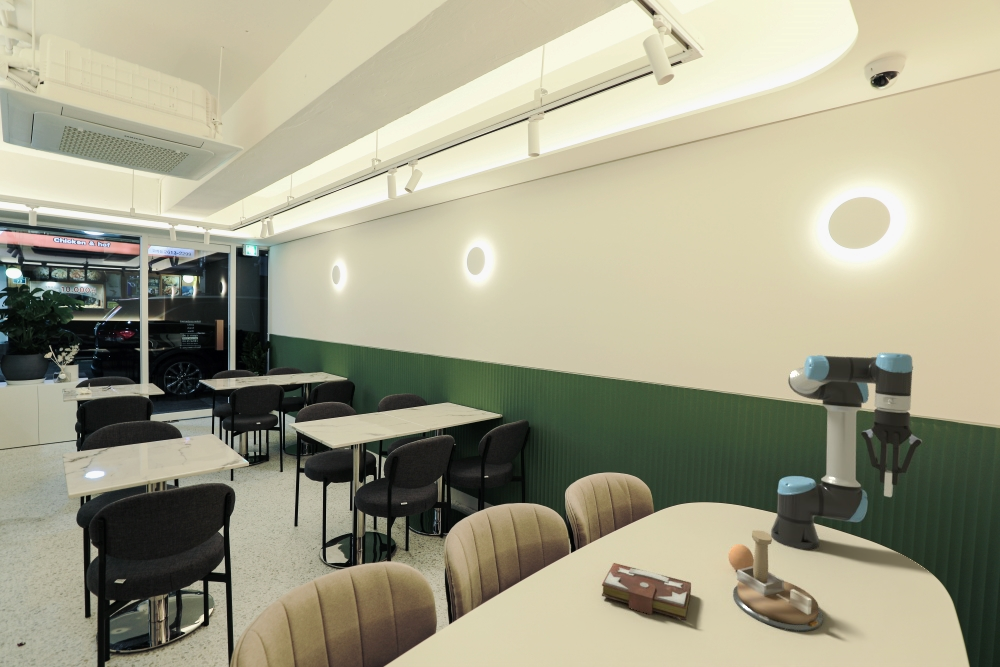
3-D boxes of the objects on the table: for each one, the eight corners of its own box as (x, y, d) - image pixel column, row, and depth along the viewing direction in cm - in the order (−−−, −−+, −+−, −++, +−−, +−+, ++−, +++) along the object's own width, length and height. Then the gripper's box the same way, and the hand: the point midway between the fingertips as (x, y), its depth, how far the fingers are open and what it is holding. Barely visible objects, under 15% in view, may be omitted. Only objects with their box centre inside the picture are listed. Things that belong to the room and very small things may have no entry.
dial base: (748, 576, 150) (748, 571, 150) (830, 607, 135) (831, 602, 135) (721, 604, 135) (721, 599, 135) (811, 643, 119) (811, 637, 119)
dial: (721, 590, 140) (722, 570, 140) (768, 577, 148) (769, 558, 148) (785, 631, 122) (786, 608, 122) (835, 614, 129) (836, 592, 129)
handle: (765, 580, 142) (767, 531, 142) (772, 592, 136) (774, 541, 135) (748, 578, 143) (749, 529, 143) (754, 589, 137) (756, 538, 137)
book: (690, 595, 140) (691, 578, 140) (685, 624, 126) (685, 606, 126) (613, 574, 151) (614, 559, 150) (600, 599, 137) (600, 583, 137)
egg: (747, 579, 149) (748, 552, 148) (724, 569, 154) (725, 544, 154) (756, 571, 154) (757, 545, 153) (733, 562, 159) (734, 537, 159)
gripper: (859, 407, 131) (856, 492, 131) (922, 415, 121) (918, 506, 122) (864, 404, 136) (861, 485, 136) (925, 411, 126) (921, 498, 127)
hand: (888, 495), depth 129 cm, fingers closed
